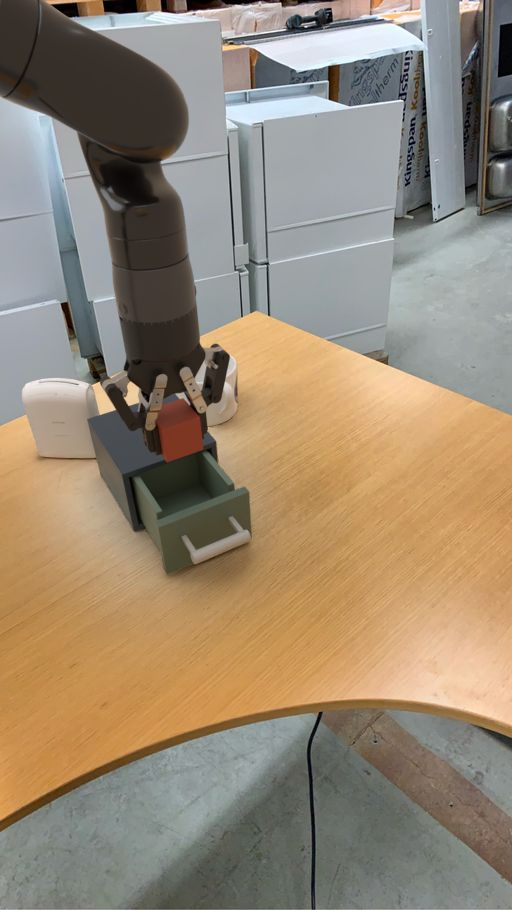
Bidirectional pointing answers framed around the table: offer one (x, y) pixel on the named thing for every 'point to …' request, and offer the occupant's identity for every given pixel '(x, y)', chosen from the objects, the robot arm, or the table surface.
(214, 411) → the mug
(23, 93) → the robot arm
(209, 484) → the drawer
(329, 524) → the table surface
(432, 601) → the table surface
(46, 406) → the photo printer
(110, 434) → the cabinet
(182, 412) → the block
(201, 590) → the table surface
